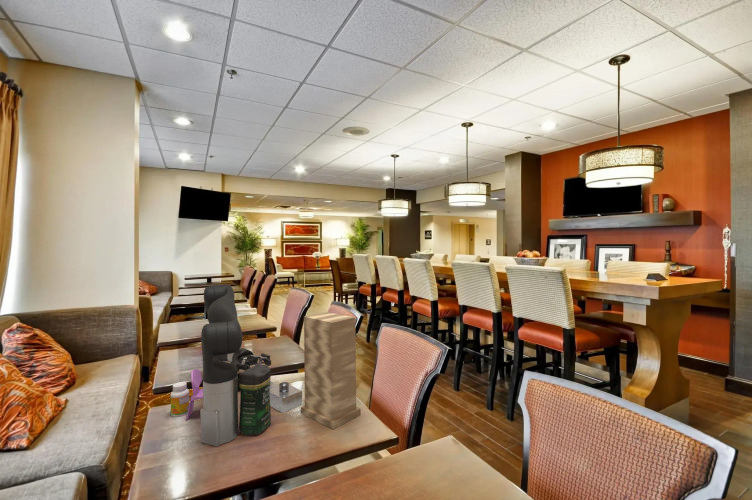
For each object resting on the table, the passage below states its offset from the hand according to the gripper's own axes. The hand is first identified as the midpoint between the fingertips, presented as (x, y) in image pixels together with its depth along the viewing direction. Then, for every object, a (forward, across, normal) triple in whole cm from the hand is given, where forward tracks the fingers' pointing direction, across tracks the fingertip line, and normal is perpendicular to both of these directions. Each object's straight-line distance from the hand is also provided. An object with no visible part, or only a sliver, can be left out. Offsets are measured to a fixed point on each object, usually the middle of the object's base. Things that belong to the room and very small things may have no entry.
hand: (260, 366), depth 134 cm
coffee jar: (+25, -15, +10) cm, 30 cm away
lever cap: (+11, -1, +9) cm, 14 cm away
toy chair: (+4, -22, +10) cm, 25 cm away
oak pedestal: (+34, +6, +9) cm, 36 cm away
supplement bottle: (-3, -27, +9) cm, 29 cm away
